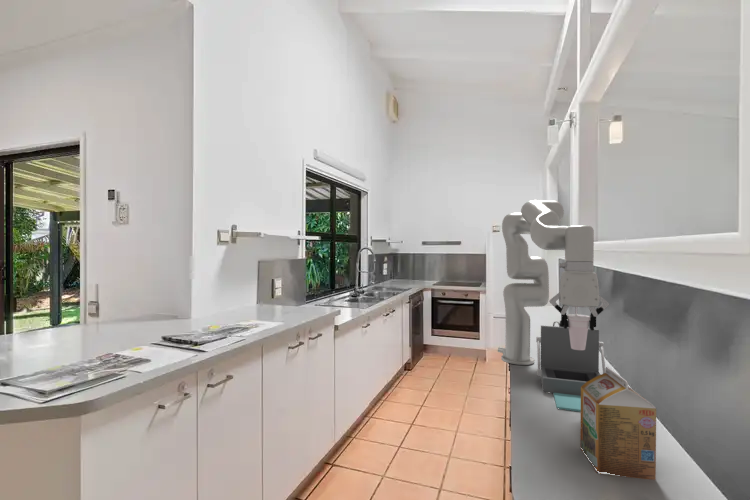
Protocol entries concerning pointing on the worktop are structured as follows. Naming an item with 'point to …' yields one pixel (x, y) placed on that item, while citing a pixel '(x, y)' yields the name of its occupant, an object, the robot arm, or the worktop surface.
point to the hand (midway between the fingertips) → (578, 328)
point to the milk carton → (618, 427)
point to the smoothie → (578, 330)
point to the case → (567, 360)
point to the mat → (568, 401)
